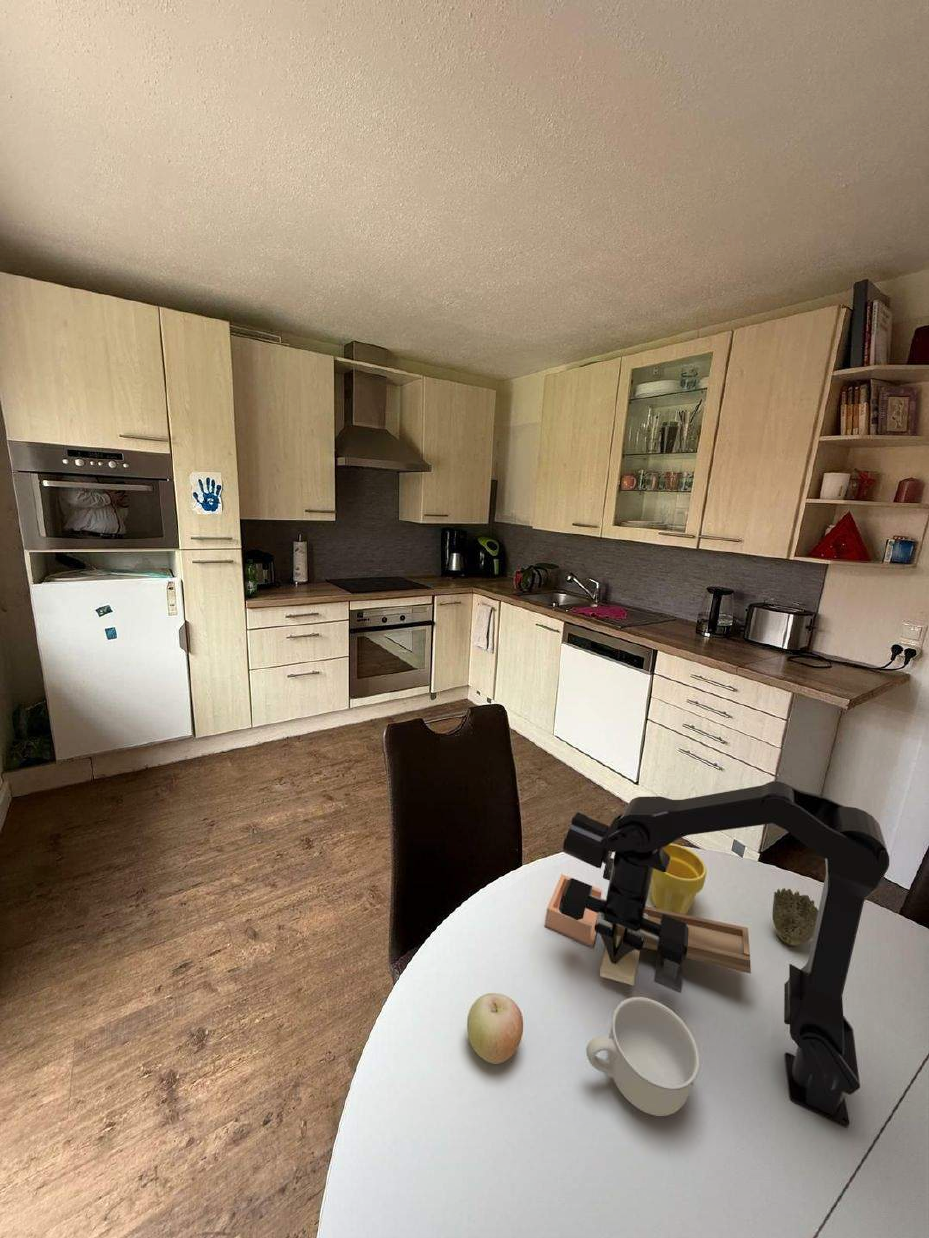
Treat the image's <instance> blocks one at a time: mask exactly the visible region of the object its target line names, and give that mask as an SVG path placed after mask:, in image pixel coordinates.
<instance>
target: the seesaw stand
mask: <svg viewBox="0 0 929 1238" xmlns="http://www.w3.org/2000/svg"><path fill="white" fill-rule="evenodd" d="M671 912H676V911H673V910H671ZM676 913H678V912H676ZM655 965H656V966H655V972H654V973H655V974H654V980H653V981H654V982H656V983H658V984H661V985H663V986H665V987H667V988H670V989H672V990H674V991H677V992H678V993H681V992H682V988H683V976H684V964H681V965H679V964H677V963H675V962H672V961H670V960H668V959H665V958H663V957H661V955H660V954H659V953H658V952H657V957H656V964H655Z"/></svg>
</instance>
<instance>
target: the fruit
mask: <svg viewBox="0 0 929 1238" xmlns="http://www.w3.org/2000/svg"><path fill="white" fill-rule="evenodd" d="M466 1030H467V1031H466V1032H467V1036H468V1039H469V1042H470V1045H471V1046H472V1048H473V1050H474V1051H475V1053H476V1054H477V1055H478V1056H479V1057H480V1058H481V1059H483V1060H484V1061H486V1062H488V1063H490V1064H494V1065H495V1064H496V1065H497V1064H502V1063H504V1062H506V1061H507V1060H509V1059H510V1058H511V1057H512V1056H513V1055H514V1054H515V1052H516V1051H517V1049H518V1048H519V1046H520V1044H521V1042H522V1038H523V1033H524V1018H523V1014H522V1011H521V1009H520V1007H519V1006H518V1004H517V1003H516V1002H515V1001H514V1000H513V999H512V998H510V997H509V996H508V995H505V994H502V993H497V992H495V993H494V992H491V993H486V994H485V993H484V994H483V995H481V996H479V997H478V998H477V999H476V1000H475V1002H474V1003H473V1004H472V1005H471V1007H470V1009H469V1012H468V1014H467V1020H466Z"/></svg>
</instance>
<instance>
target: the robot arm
mask: <svg viewBox="0 0 929 1238" xmlns="http://www.w3.org/2000/svg"><path fill="white" fill-rule="evenodd" d="M771 824H773V825H775V826H777V827H780V828H782V829H783V830H785V831H786V832H788V833H789V834H790V835H791V836H793V837H794V838H795V839H797V840H798V841H799V842H801V844H803V845H804V846H805V847H807V848H808V849H810V851H812V852H813V853H815V854H817V855H819V856H820V857H822V858H824V861H825V877H824V882H823V886H822V887H823V888H822V892H821V896H820V897H821V898H820V901H819V906H818V909H817V910H818V915H817V919H816V924H815V929H814V934H813V937H812V938H811V944H810V950H809V953H808V959H807V961H806V964H805V965H804V966H803V967H802V968H798V967H797V966H795V965H793V964H791V963H789V965H788V969H789V970H788V972H789V973H788V976H789V977H788V979H787V981H786V982H785V983H784V986H783V987H784V989H783V990H784V992H783V995H784V997H783V998H784V999H783V1003H784V1004H783V1005H784V1007H783V1009H784V1010H783V1022H784V1024H785V1025H789V1036H790V1038H791V1040H792V1041H793V1042H795V1045H797V1048H796V1051H795V1054H792V1053H789V1052H788V1051H787V1052H784V1054H783V1057H784V1066H785V1075H786V1081H787V1083H786V1084H787V1089H788V1097H789V1099H790V1100H791V1101H792V1102H794V1103H796V1104H797V1105H800V1106H802V1107H804V1108H806V1109H808V1110H810V1111H813V1112H814V1113H817V1114H819V1115H821V1116H823V1117H825V1118H827V1119H829V1120H831V1121H833V1122H835V1123H837V1124H839V1125H842V1126H844V1127H846V1128H848V1127H849V1126H850V1123H851V1122H850V1118H849V1114H848V1113H849V1112H848V1110H847V1105H846V1104H847V1103H846V1101H845V1095H846V1094H847V1095H851V1096H852V1095H853V1094H854V1093H855V1092H856V1091H858V1090H859V1089H861V1081H860V1074H859V1067H858V1066H859V1065H858V1059H857V1058H858V1057H857V1051H856V1042H855V1041H856V1040H855V1034H854V1028H853V1027H852V1025H851V1023H849V1021H848V1020H847V1018H846V1017H845V1015H844V1007H843V1006H844V1005H843V1003H844V1002H843V993H844V990H845V986H846V982H847V977H848V972H849V968H850V963H851V960H852V954H853V951H854V947H855V942H856V938H857V933H858V929H859V925H860V921H861V917H862V912H863V908H864V905H865V902H866V900H867V898H868V897H869V896H871V895H872V894H873V893H875V891H876V890H877V889H878V888H879V886H880V885H881V882H882V881H883V879H884V877H885V875H886V873H887V872H888V871H889V868H890V855H889V852H888V848H887V846H886V841H885V839H884V835H883V832H882V829H881V826H880V823H879V822H878V821H877V819H876V818H875V817H874V816H873V815H871V814H870V813H868V811H867V812H866V811H865V810H863V809H860V808H858V807H853V806H845V805H842V804H840V803H838V802H836V801H834V800H832V799H830V798H828V797H826V796H822V795H820V794H819V795H818V794H815V793H811V792H807V791H805V790H804V791H803V790H800V789H797V788H796V787H793V786H792V785H789V784H787V783H785V782H782V781H778V780H776V781H775V780H773V781H769V782H767V783H765V784H761V785H756V786H751V787H745V788H739V789H735V790H727V791H723V792H717V793H711V794H706V795H701V796H700V795H699V796H694V797H689V798H688V797H687V798H683V799H671V798H667V797H664V796H637V797H634V798H632V799H631V800H630V801H629V802H628V804H627V805H626V807H625V809H624V811H623V812H621V813H620V814H619V815H617V816H615V817H613V820H612V821H611V822H610V825H607V824H606V823H602V822H600V821H598V820H595V819H593V818H592V817H589V816H587V815H586V814H584V813H581V812H580V811H577V812H575V814H574V815H573V817H572V819H571V824H570V825H569V829H568V831H567V833H566V837H565V838H564V841H563V845H562V852H563V853H564V854H567V855H568V856H570V857H572V858H575V859H577V860H579V861H581V862H584V863H586V864H589V865H591V866H592V867H594V868H596V869H600V870H601V869H602V866H603V864H604V869H603V874H602V879H604V880H607V881H609V883H608V888H607V893H606V898H605V899H603V898H602V897H601V898H599V897H596V896H594V895H591V892H592V886H593V885H591V884H588V883H587V882H584V881H580V880H579V879H576V878H574V877H570V878H571V879H569V880H568V881H567V884H566V886H565V889H564V891H563V894H562V897H561V900H560V906H559V910H560V912H561V913H562V914H564V915H566V916H569V917H571V918H573V919H575V920H580V919H582V918H583V917H584V912H585V908H587V909H589V910H591V911H594V912H596V913H597V916H596V917H597V920H596V924H595V927H594V930H595V932H597V934H599V935H600V937H601V940H602V941H603V943H604V945H605V949H606V948H607V951H608V955H609V958H610V961H611V963H614V964H616V963H617V962H618V961H619V960H620V959H622V958H623V957H624V956H625V955H626V954H628V953H630V952H631V951H633V950H638V951H640V952H641V951H642V950H643V948H644V947H643V943H644V937H646V936H647V937H649V938H652V939H654V940H657V941H658V940H659V941H658V946H657V950H656V951H657V954H658V953H659V954H660V955H661V957H663V958H665V959H668V960H670V961H672V962H675V963H677V964H679V965H681V964H683V965H684V964H685V963H686V959H687V958H686V955H687V949H688V934H689V928H688V927H687V925H686V923H684V922H681V921H679V920H676V919H674V918H671V917H669V916H666V915H664V914H662V917H661V922H660V923H661V925H660V924H657V923H655V922H653V921H650V920H648V914H646V913H644V911H645V907H646V906H647V903H648V902H647V901H648V896H649V892H650V889H651V885H650V883H651V878H652V874H653V869H656V870H659V871H661V872H663V873H665V872H666V871H667V868H668V865H669V862H670V859H671V858H670V856H669V855H668V854H667V852H665V851H664V850H663V847H665V846H667V845H669V844H671V843H672V844H673V843H674V842H676V841H678V840H679V839H681V838H683V837H686V836H692V835H700V834H705V833H706V834H707V833H715V832H722V831H728V830H736V829H743V828H750V827H757V826H766V825H771ZM613 853H614V856H613V858H612V854H613ZM618 924H619V925H621V926H623V927H624V929H623V932H622V935H621V937H620V940H619V943H618V945H617V948H616V944H617V926H618Z"/></svg>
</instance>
